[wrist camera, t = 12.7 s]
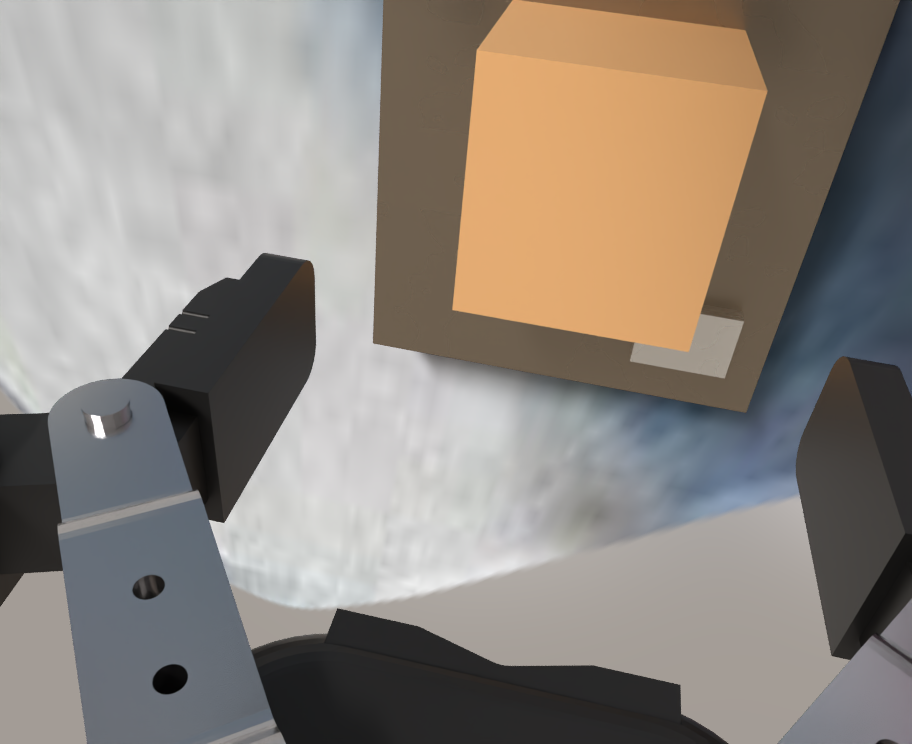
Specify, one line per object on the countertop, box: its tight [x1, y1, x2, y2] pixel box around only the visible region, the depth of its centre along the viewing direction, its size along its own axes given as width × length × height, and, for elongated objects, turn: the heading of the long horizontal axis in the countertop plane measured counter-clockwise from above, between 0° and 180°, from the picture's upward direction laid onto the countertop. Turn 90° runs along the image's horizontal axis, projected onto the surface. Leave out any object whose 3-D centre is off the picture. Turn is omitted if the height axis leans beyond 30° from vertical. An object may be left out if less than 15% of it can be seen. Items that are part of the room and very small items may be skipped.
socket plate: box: [373, 0, 900, 413], centre depth 23 cm, size 16×12×4 cm
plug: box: [452, 0, 767, 352], centre depth 21 cm, size 6×6×8 cm
